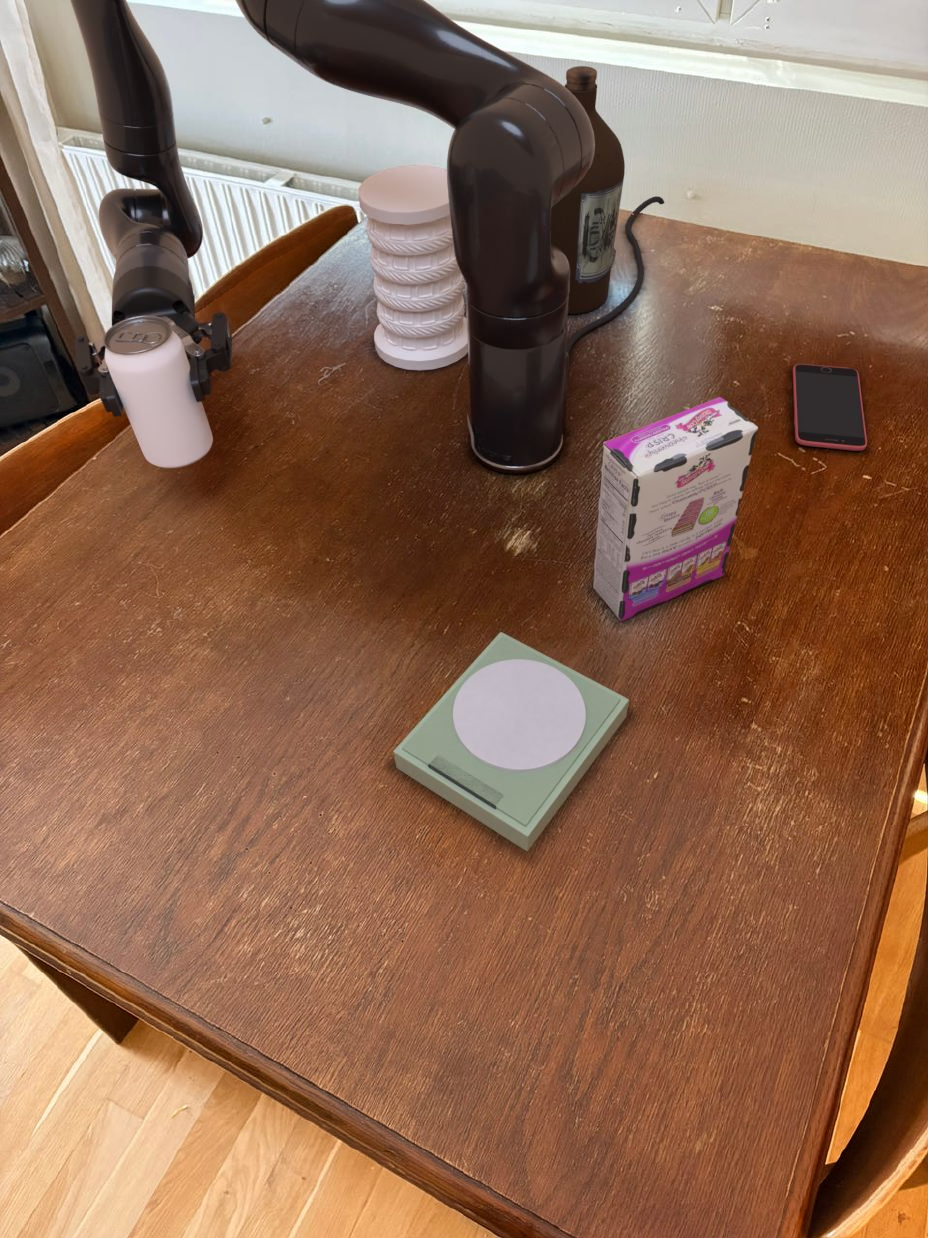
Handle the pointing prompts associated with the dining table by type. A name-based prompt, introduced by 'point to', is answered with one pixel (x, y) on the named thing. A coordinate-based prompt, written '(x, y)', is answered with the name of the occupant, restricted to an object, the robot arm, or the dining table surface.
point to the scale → (512, 738)
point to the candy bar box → (669, 505)
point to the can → (157, 391)
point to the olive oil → (590, 206)
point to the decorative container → (414, 268)
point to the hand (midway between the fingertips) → (156, 400)
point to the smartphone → (828, 407)
